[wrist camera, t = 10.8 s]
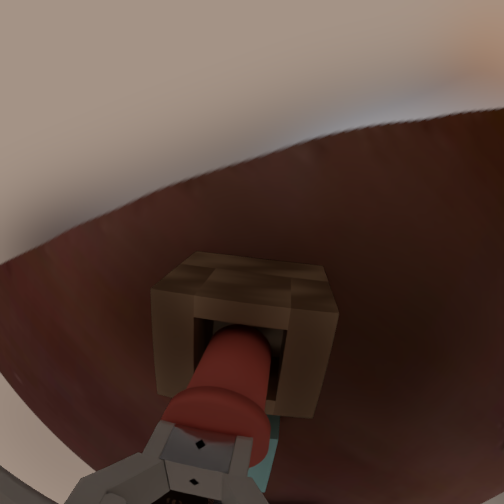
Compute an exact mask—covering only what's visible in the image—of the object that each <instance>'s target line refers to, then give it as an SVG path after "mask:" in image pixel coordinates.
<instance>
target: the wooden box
mask: <svg viewBox="0 0 504 504" xmlns="http://www.w3.org/2000/svg"><path fill="white" fill-rule="evenodd" d="M151 317H152V335H153V350H154V362H155V374H156V384H157V393H158V394H160V395H164V396H168V397H172V398H173V397H174V396H175V395H176V394H178V393H179V392H181V391H183V390H185V389H187V386H188V384H189V382H190V380H191V378H192V376H193V374H194V372H195V370H196V368H197V366H198V364H199V362H200V360H201V358H202V356H203V354H204V352H205V350H206V348H207V346H208V344H209V342H210V340H211V338H212V336H213V335H214V333H215V332H216V331H218V330H219V329H221V328H222V327H225V326H228V325H233V324H242V325H247V326H250V327H252V328H255V329H256V330H258V331H259V332H261V333H262V334H263V335H264V336H265V337H266V338H267V340H268V341H269V343H270V346H271V351H272V356H271V364H270V373H269V380H268V388H267V396H266V403H265V411H264V412H265V413H266V414H268V415H277V416H287V417H299V418H313V415H314V412H315V409H316V405H317V402H318V398H319V395H320V391H321V387H322V384H323V380H324V376H325V372H326V368H327V365H328V361H329V356H330V352H331V348H332V344H333V340H334V335H335V331H336V326H337V322H338V317H339V311H338V308H337V305H336V302H335V299H334V296H333V293H332V290H331V288H330V285H329V282H328V279H327V276H326V274H325V271H324V268H323V266H320V265H311V264H302V263H294V262H285V261H276V260H267V259H259V258H250V257H242V256H233V255H224V254H216V253H207V252H199V251H196V252H195V253H193V254H192V255H191V256H190V257H188V258H187V259H186V260H185V261H183V262H182V263H181V264H180V265H179V266H177V267H176V268H175V269H174V270H172V271H171V272H170V273H169V274H168V275H166V276H165V277H164V278H163V279H161V280H160V281H159V282H158V283H157V284H155V285H154V286H153V287H152V288H151Z"/></svg>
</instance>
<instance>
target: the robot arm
mask: <svg viewBox="0 0 504 504" xmlns="http://www.w3.org/2000/svg"><path fill="white" fill-rule="evenodd" d="M252 444H253V438H252V437H245V436H238V435H232V434H226V433H219V432H213V431H208V430H206V431H205V430H201V429H196V428H192V427H188V426H184V425H180V424H176V423H172V422H168V421H164V420H161V421H160V422H159V423H158V424H157V426H156V428H155V430H154V432H153V434H152V436H151V438H150V440H149V442H148V443H147V445H146V447H145V449H144V451H143V453H136V454H134V455H132V456H130V457H128V458H126V459H123V460H121V461H119V462H117V463H115V464H113V465H111V466H108V467H106V468H104V469H102V470H99V471H97V472H95V473H92V474H90V475H88V476H85V477H83V478H81V479H80V480H79V482H78V484H77V485H76V486H75V488H74V489H73V491H72V493H71V494H70V496H69V497H68V499H67V500H66V502H65V503H64V504H151V503H153V502H154V501H156V500H157V499H159V498H160V497H162V496H163V495H164V494H166V493H167V492H169V491H170V490H175V491H179V492H183V493H188V494H193V495H197V496H202V497H206V498H211V499H216V500H221V502H222V504H269V503H268V502H267V500H266V499H265V497H264V496H263V494H262V493H261V491H260V489H259V488H258V486H257V485H256V483H255V482H254V480H253V478H252V477H247V476H248V470H249V464H250V457H251V451H252ZM169 489H170V490H169ZM0 504H58V503H56V502H55V501H53V500H51V499H49V498H48V497H46V496H44V495H43V494H41V493H40V492H38V491H36V490H35V489H33V488H32V487H30V486H29V485H27V484H25V483H24V482H23V481H21V480H20V479H18V478H17V477H15V476H14V475H13V474H11V473H10V472H8V471H7V470H6V469H4V468H3V467H2V466H0Z"/></svg>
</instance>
